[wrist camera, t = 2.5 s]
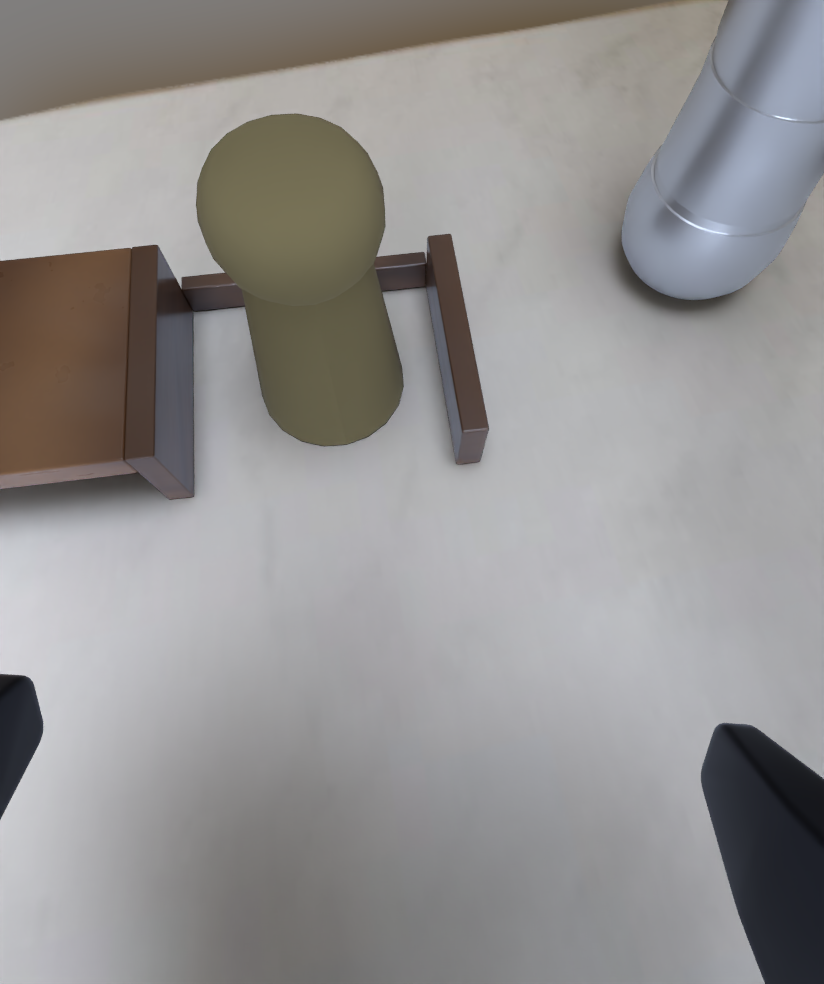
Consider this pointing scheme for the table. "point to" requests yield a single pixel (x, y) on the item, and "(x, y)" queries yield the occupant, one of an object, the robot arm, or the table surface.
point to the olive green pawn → (306, 271)
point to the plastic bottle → (734, 155)
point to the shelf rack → (160, 362)
